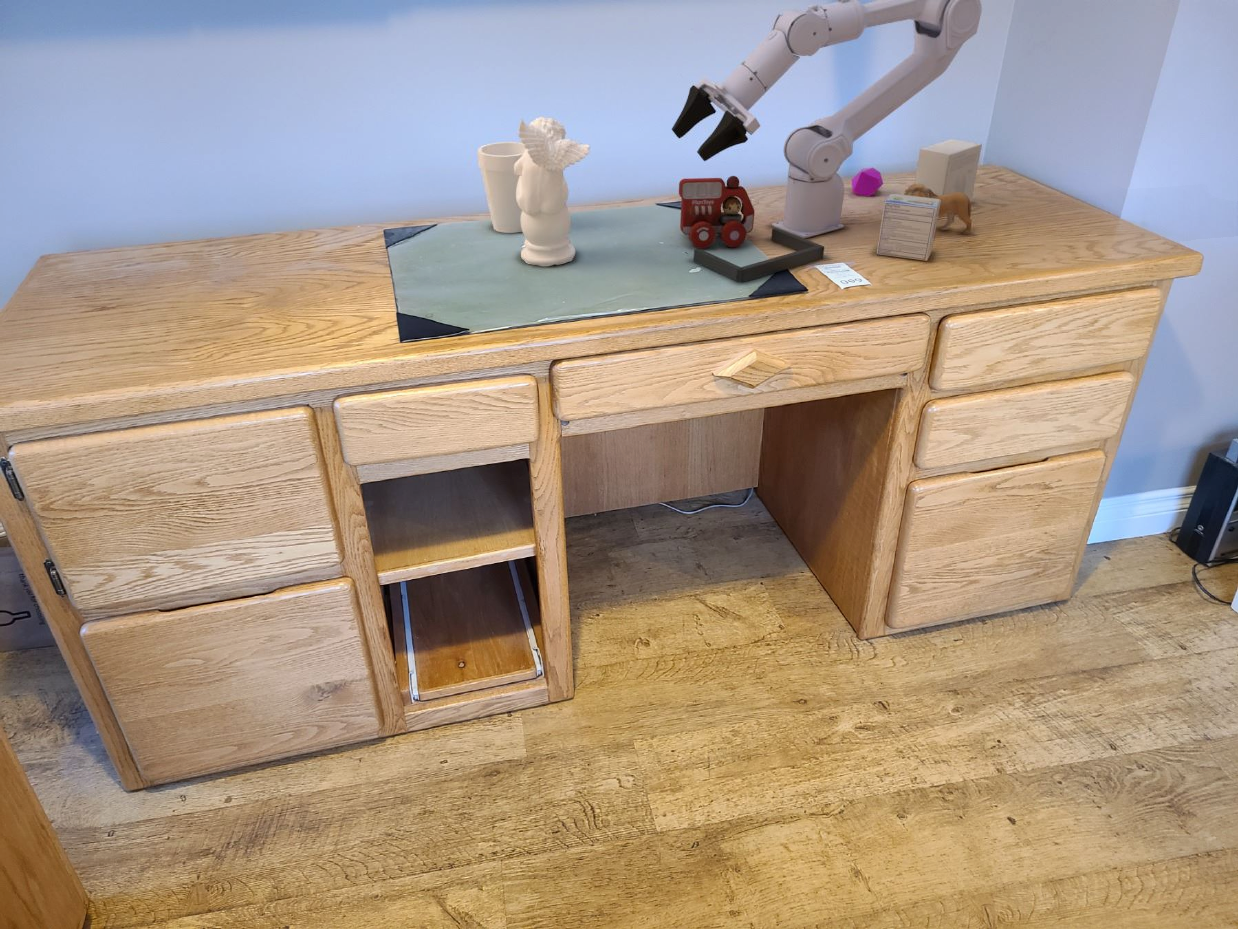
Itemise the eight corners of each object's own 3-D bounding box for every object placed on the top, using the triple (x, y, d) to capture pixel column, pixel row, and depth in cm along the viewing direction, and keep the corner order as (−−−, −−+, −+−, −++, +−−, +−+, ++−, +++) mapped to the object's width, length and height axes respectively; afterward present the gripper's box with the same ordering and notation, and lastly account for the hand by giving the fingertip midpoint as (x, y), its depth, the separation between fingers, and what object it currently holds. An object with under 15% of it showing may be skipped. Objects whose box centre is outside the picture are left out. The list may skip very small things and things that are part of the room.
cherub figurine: (542, 241, 147) (534, 100, 135) (609, 253, 142) (607, 107, 130) (502, 266, 138) (490, 117, 126) (573, 279, 133) (567, 125, 121)
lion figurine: (908, 245, 145) (919, 189, 140) (888, 235, 149) (897, 180, 144) (980, 233, 150) (992, 178, 145) (958, 223, 154) (969, 170, 149)
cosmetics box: (940, 195, 167) (951, 136, 161) (971, 202, 163) (984, 143, 157) (908, 206, 161) (918, 147, 156) (940, 215, 157) (951, 154, 152)
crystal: (883, 196, 167) (887, 171, 164) (854, 197, 166) (858, 172, 164) (874, 188, 171) (878, 163, 169) (846, 189, 171) (850, 164, 168)
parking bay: (774, 239, 148) (775, 227, 146) (823, 258, 140) (824, 246, 139) (693, 261, 139) (693, 248, 138) (740, 283, 132) (741, 270, 131)
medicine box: (931, 253, 142) (942, 198, 137) (927, 262, 138) (937, 206, 134) (881, 246, 145) (889, 192, 140) (875, 255, 141) (884, 200, 136)
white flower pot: (550, 223, 155) (546, 146, 147) (517, 239, 148) (511, 159, 141) (506, 214, 159) (501, 139, 152) (473, 229, 152) (465, 151, 145)
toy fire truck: (756, 247, 144) (762, 182, 139) (681, 250, 143) (683, 184, 138) (747, 232, 150) (752, 169, 145) (674, 235, 149) (676, 172, 144)
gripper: (715, 41, 137) (652, 108, 139) (770, 81, 128) (701, 151, 131) (734, 71, 142) (673, 135, 145) (788, 112, 134) (721, 178, 137)
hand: (687, 145), depth 139 cm, fingers open, 7 cm apart
